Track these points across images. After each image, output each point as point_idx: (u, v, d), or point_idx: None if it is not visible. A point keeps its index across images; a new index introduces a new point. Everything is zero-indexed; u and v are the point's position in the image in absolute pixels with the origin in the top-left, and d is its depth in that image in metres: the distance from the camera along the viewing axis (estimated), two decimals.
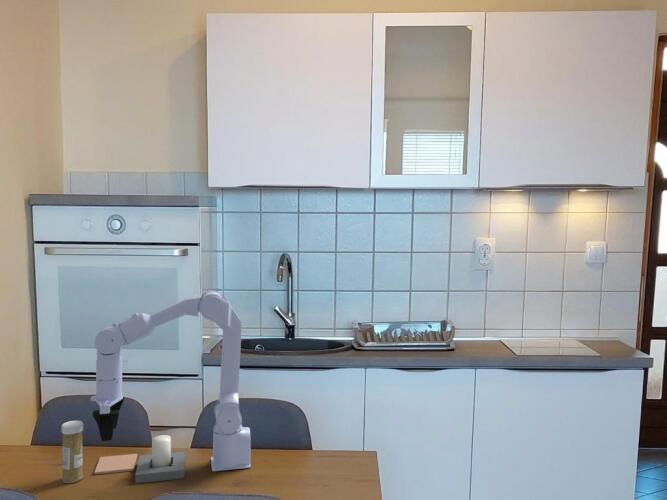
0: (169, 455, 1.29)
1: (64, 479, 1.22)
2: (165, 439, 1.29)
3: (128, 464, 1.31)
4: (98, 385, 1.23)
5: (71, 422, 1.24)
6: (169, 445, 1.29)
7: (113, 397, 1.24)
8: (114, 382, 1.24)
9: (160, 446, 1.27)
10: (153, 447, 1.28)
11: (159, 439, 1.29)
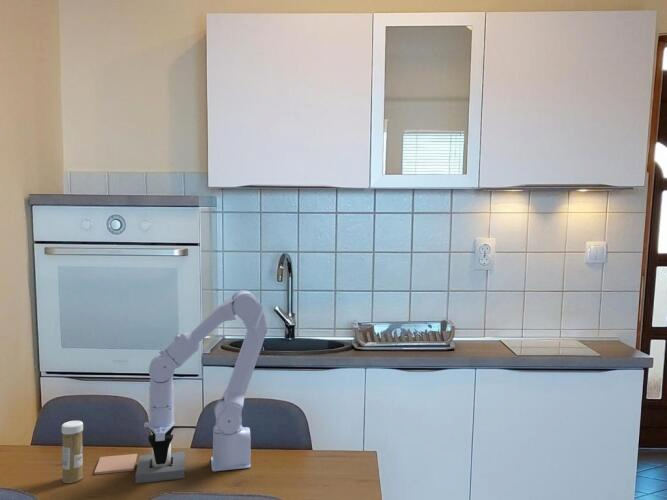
0: (169, 455, 1.29)
1: (64, 479, 1.22)
2: None
3: (128, 464, 1.31)
4: (152, 412, 1.27)
5: (71, 422, 1.24)
6: (169, 445, 1.29)
7: (166, 423, 1.27)
8: (167, 409, 1.27)
9: None
10: None
11: None
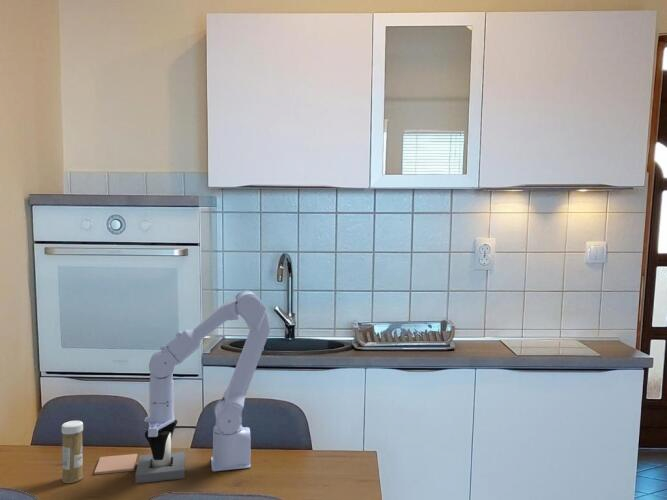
0: (168, 452, 1.28)
1: (64, 479, 1.22)
2: None
3: (128, 464, 1.31)
4: (150, 407, 1.27)
5: (71, 422, 1.24)
6: (168, 442, 1.28)
7: (163, 420, 1.27)
8: (164, 405, 1.27)
9: None
10: None
11: None
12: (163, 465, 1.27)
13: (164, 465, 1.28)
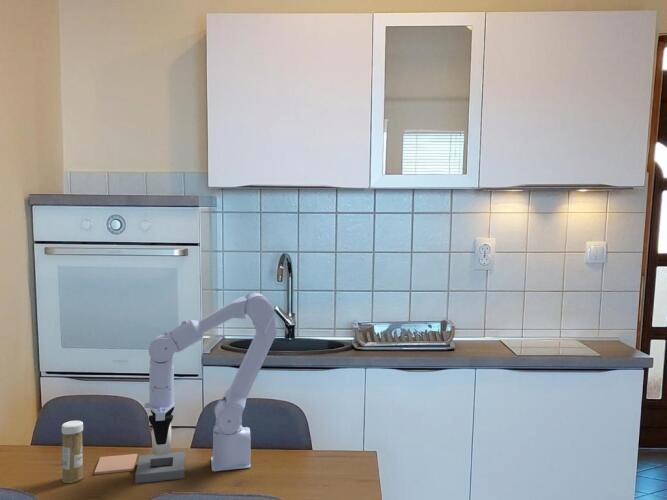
0: (169, 436, 1.29)
1: (64, 479, 1.22)
2: None
3: (128, 464, 1.31)
4: (152, 392, 1.27)
5: (71, 422, 1.24)
6: (169, 426, 1.29)
7: (166, 404, 1.27)
8: (167, 389, 1.27)
9: None
10: None
11: None
12: (165, 449, 1.28)
13: (166, 449, 1.28)
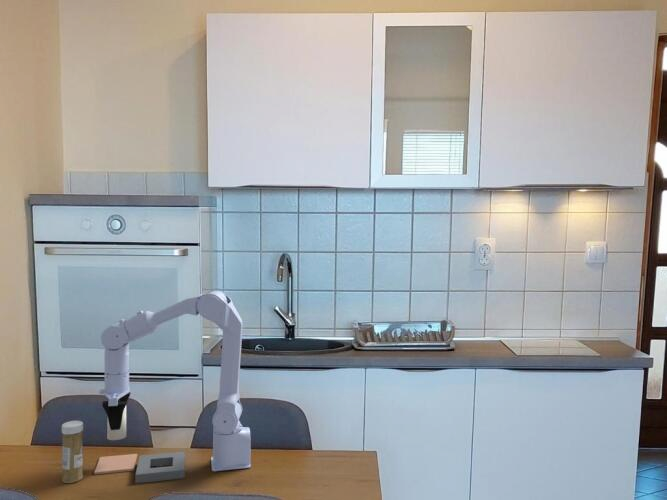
0: (124, 421, 1.31)
1: (64, 479, 1.22)
2: None
3: (128, 464, 1.31)
4: (106, 379, 1.29)
5: (71, 422, 1.24)
6: (124, 412, 1.31)
7: (120, 390, 1.30)
8: (122, 376, 1.30)
9: None
10: None
11: None
12: (120, 435, 1.30)
13: (121, 434, 1.31)
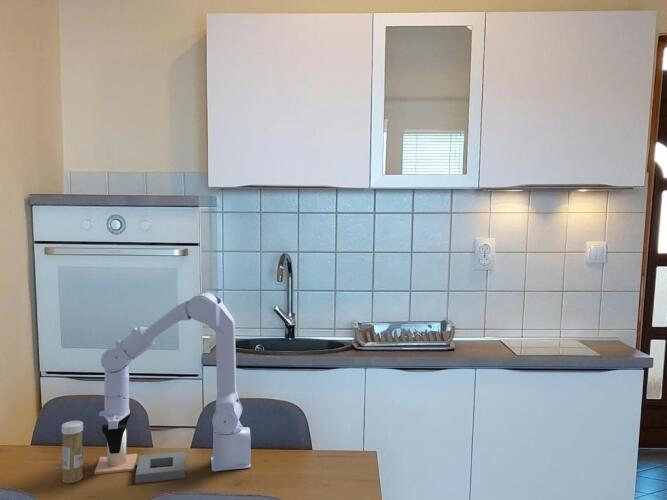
0: (124, 447, 1.32)
1: (64, 479, 1.22)
2: None
3: (128, 464, 1.31)
4: (106, 401, 1.29)
5: (71, 422, 1.24)
6: (124, 437, 1.32)
7: (120, 412, 1.30)
8: (122, 398, 1.30)
9: None
10: None
11: None
12: (120, 460, 1.31)
13: (121, 460, 1.31)
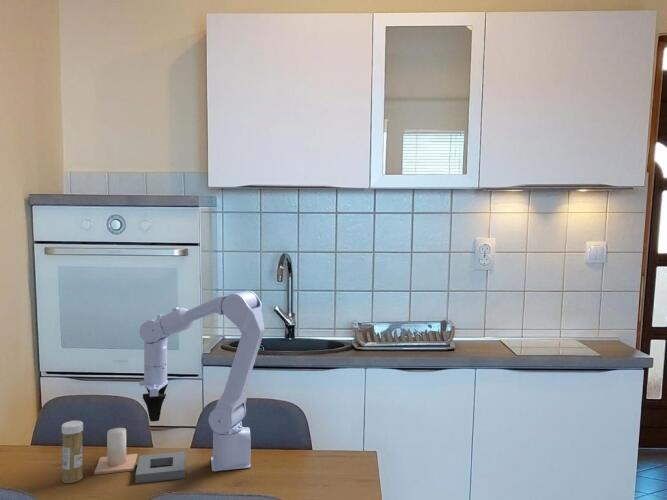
0: (124, 447, 1.32)
1: (64, 479, 1.22)
2: (120, 431, 1.31)
3: (128, 464, 1.31)
4: (146, 371, 1.36)
5: (71, 422, 1.24)
6: (124, 437, 1.32)
7: (160, 382, 1.36)
8: (161, 368, 1.36)
9: (114, 438, 1.30)
10: (108, 439, 1.31)
11: (114, 431, 1.31)
12: (120, 460, 1.31)
13: (121, 460, 1.31)
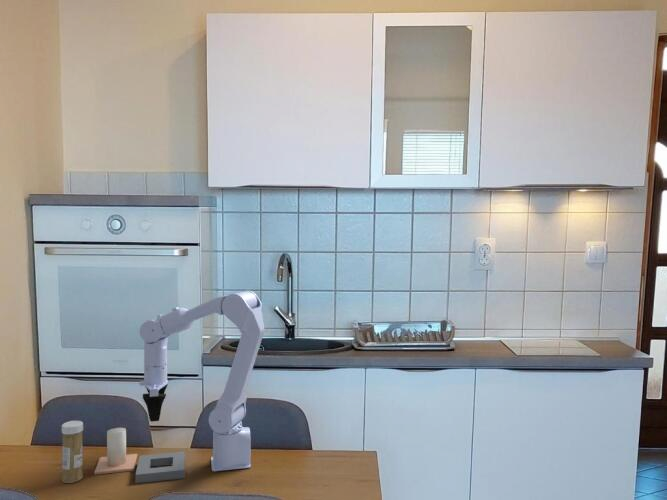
0: (124, 447, 1.32)
1: (64, 479, 1.22)
2: (120, 431, 1.32)
3: (128, 464, 1.31)
4: (146, 371, 1.36)
5: (71, 422, 1.24)
6: (124, 437, 1.32)
7: (160, 382, 1.36)
8: (161, 368, 1.36)
9: (114, 438, 1.30)
10: (108, 439, 1.31)
11: (114, 431, 1.31)
12: (120, 460, 1.31)
13: (121, 460, 1.31)
